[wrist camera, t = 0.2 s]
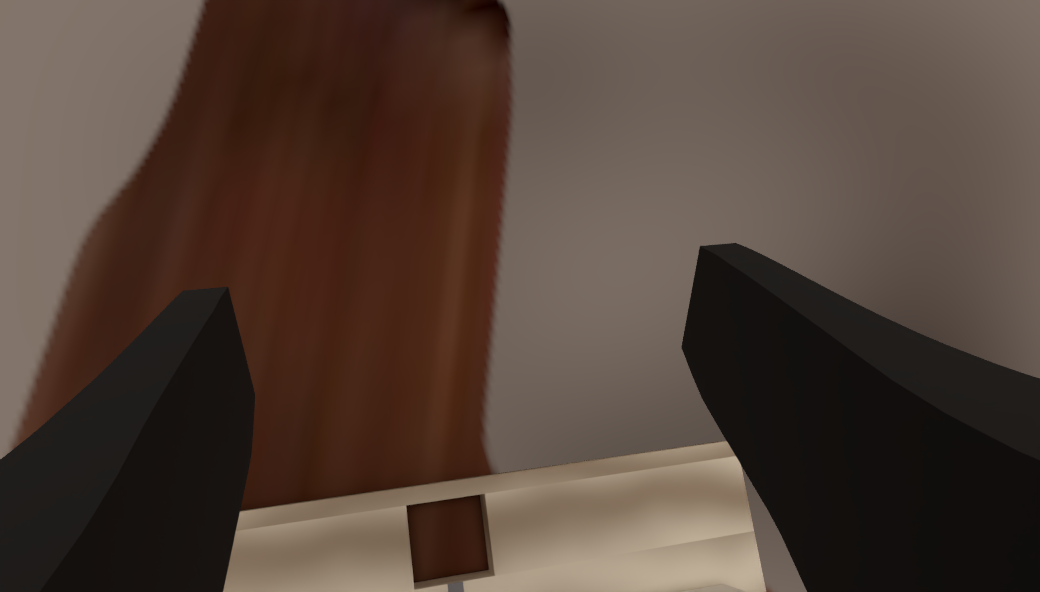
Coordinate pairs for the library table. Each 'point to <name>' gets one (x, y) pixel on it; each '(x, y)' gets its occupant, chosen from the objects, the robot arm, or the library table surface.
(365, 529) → the board
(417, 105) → the library table surface
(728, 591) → the finder
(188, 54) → the library table surface
